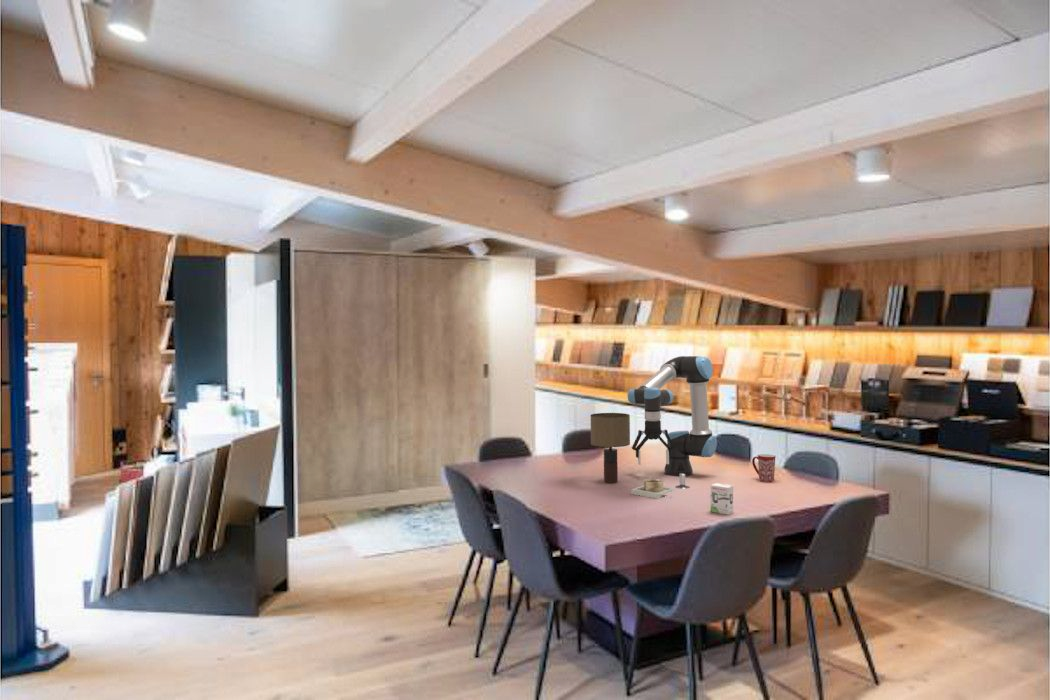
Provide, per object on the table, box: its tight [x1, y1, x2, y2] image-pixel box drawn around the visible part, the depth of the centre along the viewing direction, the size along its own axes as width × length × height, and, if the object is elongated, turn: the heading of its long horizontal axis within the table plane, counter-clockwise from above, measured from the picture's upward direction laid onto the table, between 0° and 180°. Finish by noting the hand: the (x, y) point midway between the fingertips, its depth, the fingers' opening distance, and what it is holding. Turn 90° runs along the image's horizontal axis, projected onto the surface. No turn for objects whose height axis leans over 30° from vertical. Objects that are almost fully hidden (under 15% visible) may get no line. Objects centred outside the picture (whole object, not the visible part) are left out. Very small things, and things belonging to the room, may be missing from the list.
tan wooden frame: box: [643, 478, 664, 493], centre depth 344 cm, size 8×9×5 cm
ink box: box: [710, 482, 734, 515], centre depth 307 cm, size 9×5×12 cm, turn 48°
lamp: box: [590, 412, 631, 484], centre depth 371 cm, size 20×20×35 cm
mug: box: [751, 453, 777, 483], centre depth 371 cm, size 13×9×14 cm
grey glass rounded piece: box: [674, 473, 690, 490], centre depth 351 cm, size 7×7×8 cm
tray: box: [630, 485, 677, 500], centre depth 344 cm, size 15×15×2 cm
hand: (653, 464), depth 344 cm, fingers open, 13 cm apart
